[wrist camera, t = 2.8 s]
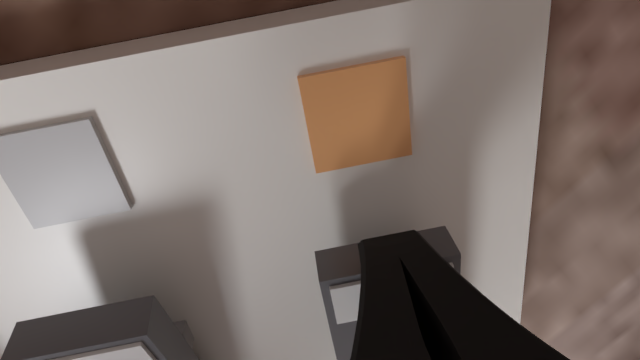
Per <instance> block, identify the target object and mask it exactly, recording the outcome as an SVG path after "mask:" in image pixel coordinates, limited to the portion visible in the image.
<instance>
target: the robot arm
mask: <svg viewBox="0 0 640 360" xmlns="http://www.w3.org/2000/svg"><path fill="white" fill-rule="evenodd" d="M358 251H359V257H360V263H361V287H360V298H359V309H358V318H357V324H356V330H355V336H354V342H353V348H352V353H351V358H350V360H570V359H568V358H567V357H565V356H564V355H562V354H561V353H559V352H558V351H557V350H555V349H554V348H552V347H551V346H549V345H548V344H546V343H545V342H544V341H542V340H541V339H539V338H538V337H537V336H535V335H534V334H532V333H531V332H530V331H528V330H527V329H526V328H524V327H523V326H522V325H520V324H519V323H518V322H517V321H515V320H514V319H513V318H511V317H510V316H509V315H508V314H506V313H505V312H504V311H503V310H501V309H500V308H499V307H498V306H496V305H495V304H494V303H493V302H492V301H490V300H489V299H488V298H487V297H486V296H484V295H483V294H482V293H481V292H480V291H479V290H477V289H476V288H475V287H474V286H473V285H472V284H471V283H470V282H468V281H467V280H466V279H465V278H464V277H463V276H462V275H461V274H459V273H458V272H457V271H456V270H455V269H454V268H453V267H452V266H451V265H450V264H449V263H448V262H447V261H446V260H445V259H444V258H443V257H442V256H441V255H440V254H439V253H438V252H437V251H436V250H435V249H434V248H433V247H432V246H431V245H430V244H429V243H428V242H427V241H426V240H425V239H424V238H423V237H422V236H421V234H420V233H418V232H417V231H415V230H409V231H404V232H399V233H394V234H389V235H384V236H379V237H373V238H368V239H363V240H361V241H360V242H359V244H358Z"/></svg>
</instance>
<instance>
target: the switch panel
mask: <svg viewBox="0 0 640 360" xmlns="http://www.w3.org/2000/svg"><path fill="white" fill-rule="evenodd" d="M550 9H551V0H337V1H332V2H327V3H322V4H316V5H311V6H306V7H301V8H296V9H290V10H285V11H280V12H275V13H270V14H265V15H259V16H254V17H249V18H244V19H239V20H234V21H228V22H223V23H218V24H213V25H208V26H202V27H197V28H192V29H187V30H182V31H177V32H171V33H166V34H161V35H156V36H151V37H146V38H140V39H135V40H130V41H125V42H120V43H114V44H109V45H104V46H99V47H94V48H89V49H83V50H78V51H73V52H68V53H63V54H58V55H52V56H47V57H42V58H37V59H32V60H27V61H21V62H16V63H11V64H6V65H1V66H0V360H1V357H2V355H3V353H4V350H5V348H6V346H7V343H8V341H9V339H10V336H11V334H12V332H13V329H14V327H15V325H16V322H20V321H25V320H30V319H35V318H40V317H46V316H51V315H56V314H61V313H66V312H71V311H76V310H81V309H86V308H91V307H96V306H101V305H106V304H111V303H116V302H121V301H126V300H131V299H136V298H141V297H146V296H152V295H154V296H155V297H156V299H157V300H158V302H159V303H160V304H161V306H162V307H163V309H164V310H165V311H166V313H167V314H168V316H169V317H170V318H171V320H172V321H173V323H174V324H175V325H176V327H177V328H178V330H179V331H180V332H181V334H182V335H183V337H184V338H185V340H186V341H187V342H188V344H189V345H190V347H191V348H192V349H193V351H194V352H195V354H196V355H197V356H198V358H199V359H200V360H337V359H336V354H335V350H334V345H333V341H332V337H331V332H330V328H329V324H328V319H327V315H326V311H325V306H324V302H323V297H322V293H321V289H320V284H319V279H318V272H317V266H316V259H315V252H314V251H319V250H324V249H329V248H334V247H339V246H344V245H349V244H354V243H359V242H360V241H361V240H363V239H368V238H373V237H379V236H384V235H389V234H394V233H399V232H404V231H409V230H415V231H420V230H425V229H430V228H435V227H440V226H446V228H447V230H448V232H449V233H450V235H451V237H452V239H453V240H454V242H455V244H456V246H457V248H458V249H459V251H460V253H461V273H460V274H461V275H462V276H463V277H464V278H465V279H466V280H467V281H468V282H470V283H471V284H472V285H473V286H474V287H475V288H476V289H477V290H479V291H480V292H481V293H482V294H483V295H484V296H486V297H487V298H488V299H489V300H490V301H492V302H493V303H494V304H495V305H496V306H498V307H499V308H500V309H501V310H503V311H504V312H505V313H506V314H508V315H509V316H510V317H511V318H513V319H514V320H515V321H517V322H518V323H519V324H520V319H521V309H522V299H523V288H524V278H525V268H526V257H527V247H528V237H529V226H530V216H531V205H532V195H533V185H534V174H535V164H536V154H537V143H538V133H539V123H540V112H541V102H542V92H543V81H544V71H545V61H546V50H547V40H548V29H549V19H550Z"/></svg>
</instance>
